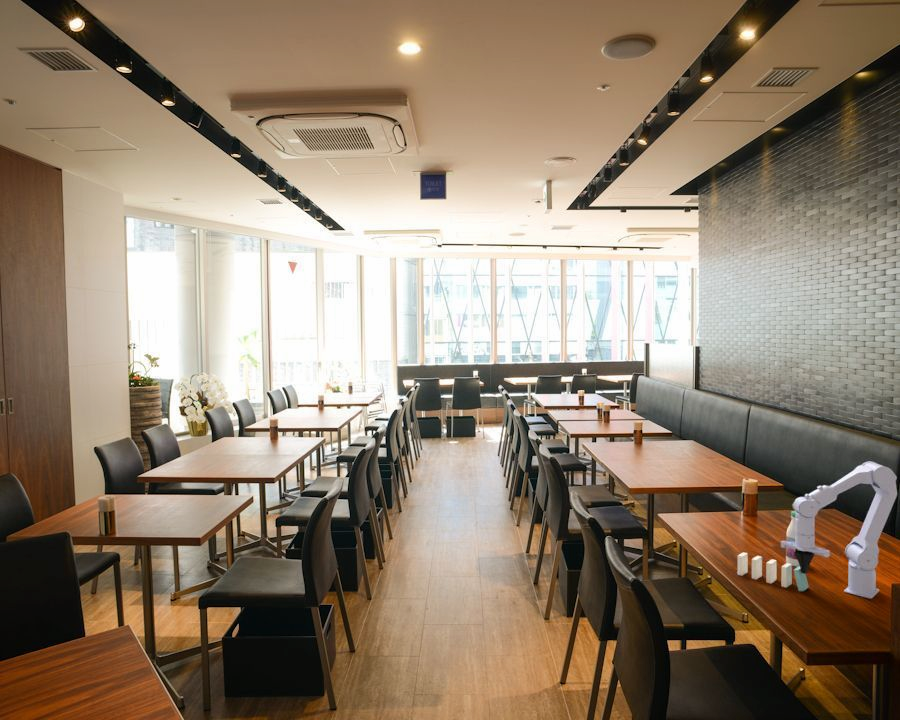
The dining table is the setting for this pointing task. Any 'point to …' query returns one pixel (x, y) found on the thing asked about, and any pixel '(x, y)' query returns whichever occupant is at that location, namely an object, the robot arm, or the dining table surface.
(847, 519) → the dining table surface
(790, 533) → the milk bottle
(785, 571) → the domino
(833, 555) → the dining table surface
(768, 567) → the domino
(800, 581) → the domino teal
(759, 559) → the domino
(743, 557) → the domino
